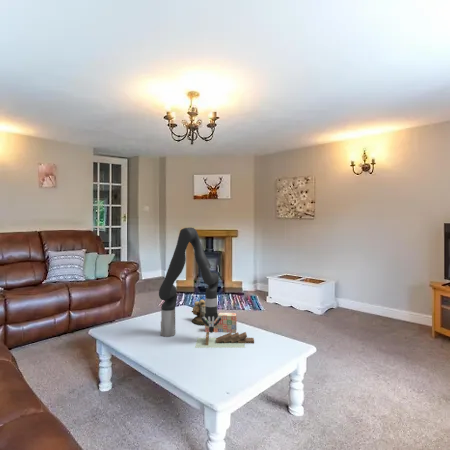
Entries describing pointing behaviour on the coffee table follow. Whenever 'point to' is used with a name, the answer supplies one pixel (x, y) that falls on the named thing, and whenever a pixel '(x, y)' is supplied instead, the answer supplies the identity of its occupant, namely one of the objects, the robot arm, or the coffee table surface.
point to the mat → (217, 344)
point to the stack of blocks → (225, 323)
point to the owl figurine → (199, 312)
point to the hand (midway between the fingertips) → (211, 332)
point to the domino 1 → (207, 337)
